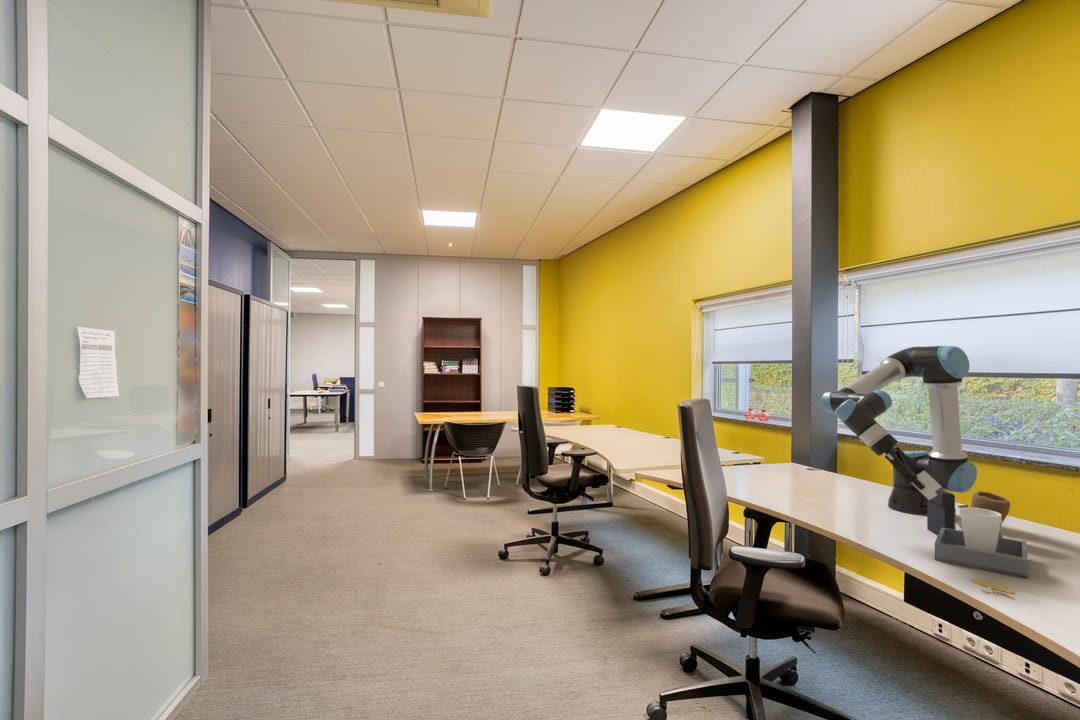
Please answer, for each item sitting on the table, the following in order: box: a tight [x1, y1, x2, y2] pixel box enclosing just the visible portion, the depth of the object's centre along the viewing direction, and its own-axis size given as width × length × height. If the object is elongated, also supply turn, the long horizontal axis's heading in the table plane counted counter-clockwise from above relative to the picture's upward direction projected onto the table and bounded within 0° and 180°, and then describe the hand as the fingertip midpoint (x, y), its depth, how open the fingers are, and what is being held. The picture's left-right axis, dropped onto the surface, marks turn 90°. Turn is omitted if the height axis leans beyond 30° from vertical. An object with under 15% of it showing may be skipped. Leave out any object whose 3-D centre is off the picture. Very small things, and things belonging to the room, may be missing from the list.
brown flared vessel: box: [956, 490, 1011, 538], centre depth 174 cm, size 15×12×15 cm
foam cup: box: [959, 506, 1003, 553], centre depth 154 cm, size 10×9×13 cm
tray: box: [934, 527, 1029, 580], centre depth 154 cm, size 20×20×5 cm
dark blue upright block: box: [926, 488, 957, 536], centre depth 176 cm, size 11×4×15 cm, turn 168°
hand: (935, 493), depth 162 cm, fingers open, 13 cm apart
